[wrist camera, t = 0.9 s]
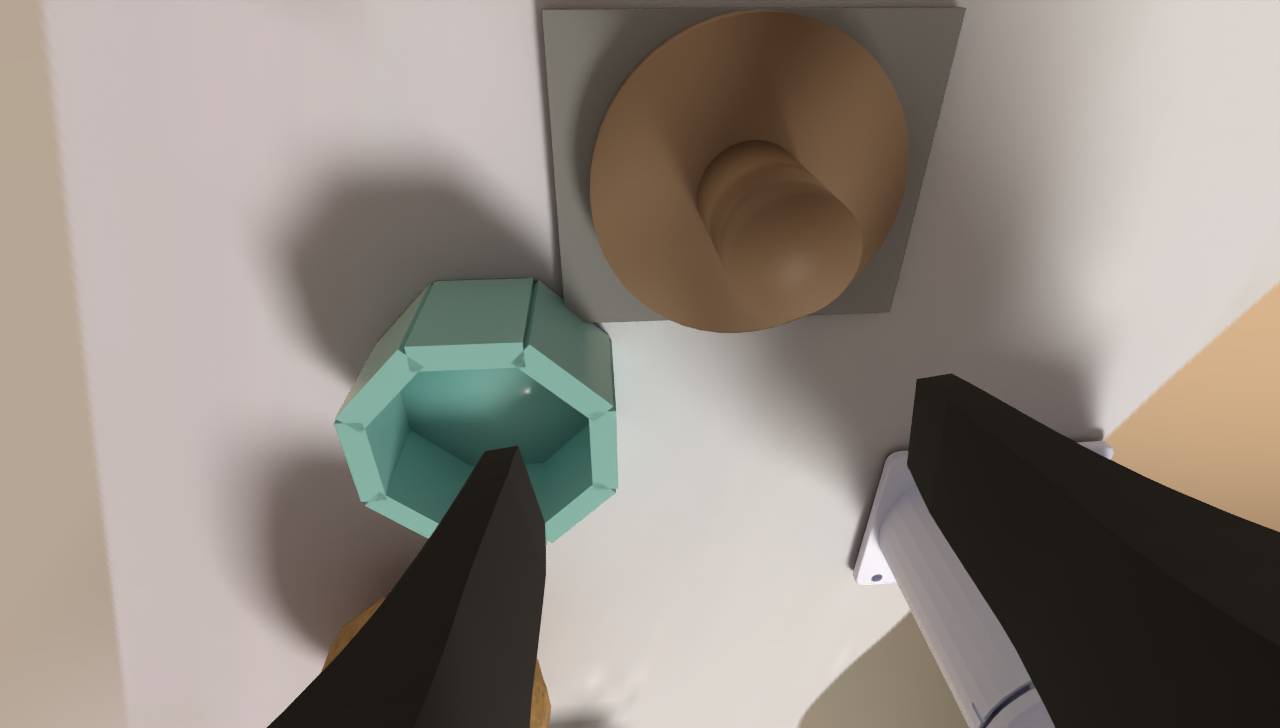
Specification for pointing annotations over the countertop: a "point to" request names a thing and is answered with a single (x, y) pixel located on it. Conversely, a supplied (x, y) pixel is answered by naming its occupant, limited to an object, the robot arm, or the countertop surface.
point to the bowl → (483, 403)
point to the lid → (748, 170)
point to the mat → (620, 38)
